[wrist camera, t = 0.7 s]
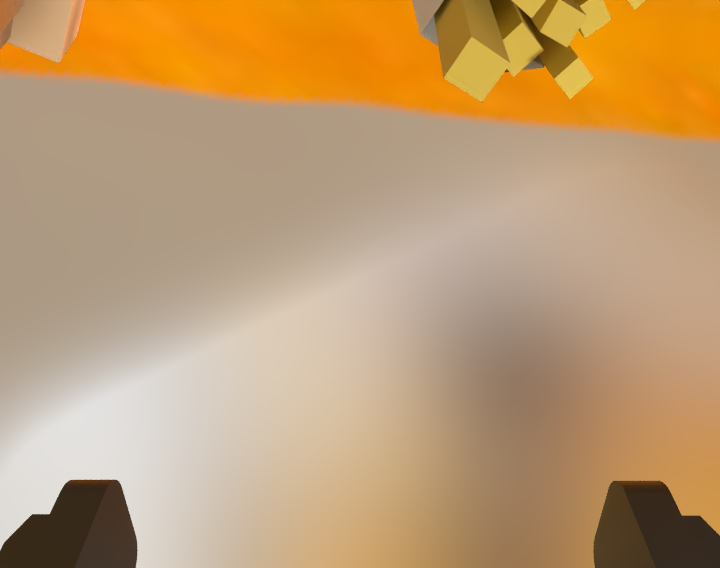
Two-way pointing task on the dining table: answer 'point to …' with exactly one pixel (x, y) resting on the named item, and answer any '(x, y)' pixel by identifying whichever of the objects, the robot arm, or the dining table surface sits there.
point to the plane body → (45, 27)
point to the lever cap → (9, 11)
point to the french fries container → (510, 38)
